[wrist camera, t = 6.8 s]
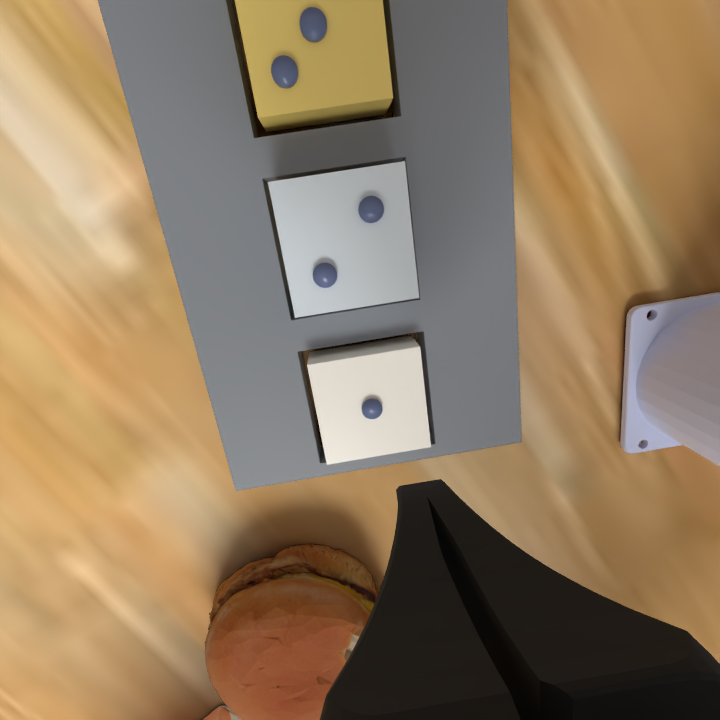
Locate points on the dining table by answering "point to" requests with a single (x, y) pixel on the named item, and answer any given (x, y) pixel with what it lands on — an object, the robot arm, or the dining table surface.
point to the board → (318, 156)
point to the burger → (286, 631)
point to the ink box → (222, 714)
